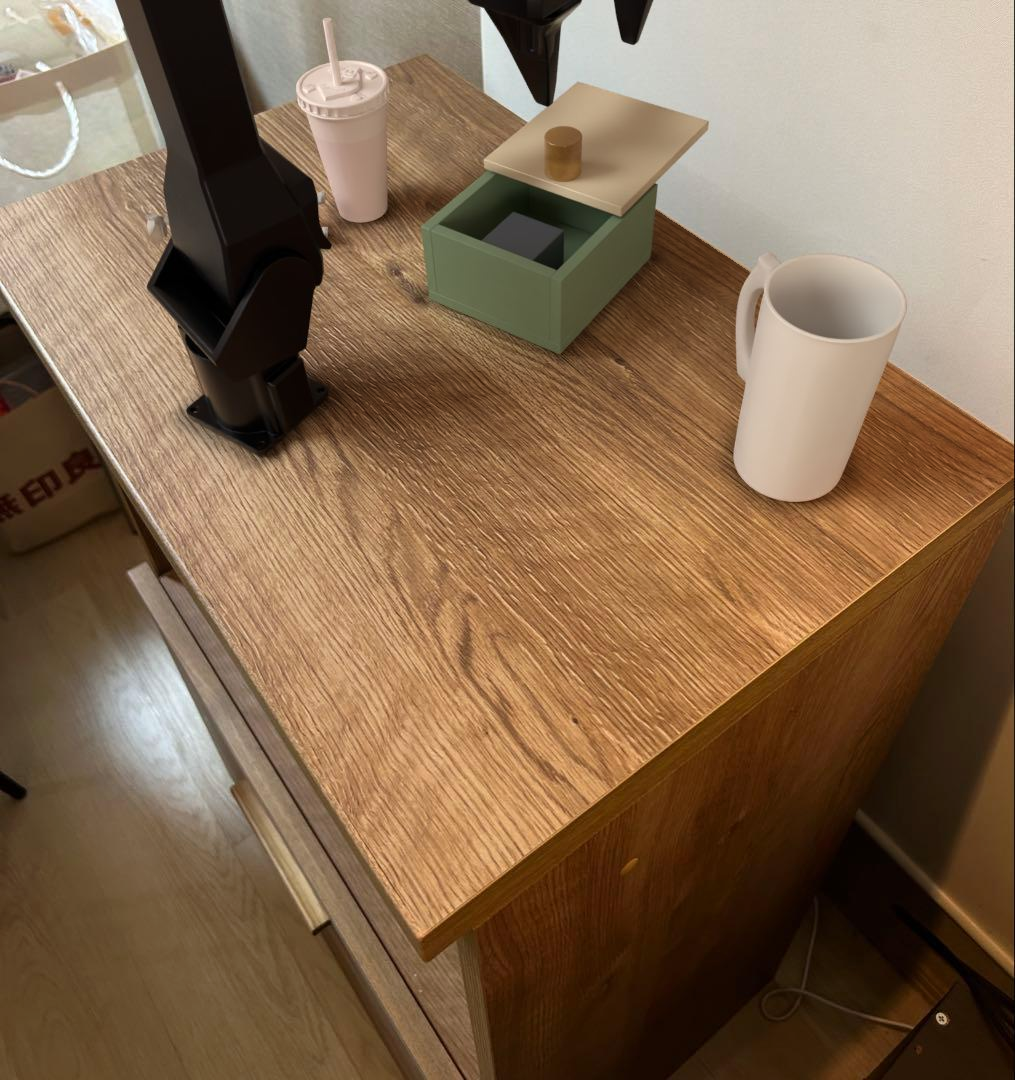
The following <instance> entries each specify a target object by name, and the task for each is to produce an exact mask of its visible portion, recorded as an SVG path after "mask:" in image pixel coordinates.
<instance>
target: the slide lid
mask: <svg viewBox="0 0 1015 1080" xmlns="http://www.w3.org/2000/svg"><path fill="white" fill-rule="evenodd" d="M709 124H710V121H709V120H708V119H707V120H706V119H703V118H699V117H698V116H694V115H690V114H687V113H684V112H681V111H677V110H673V109H672V108H671V109H670V108H667V107H665V106H664V107H663V106H661V105H657V104H655V103H650V102H648V101H644V100H642V99H639V98H634V97H631V96H629V95H628V96H627V95H625V94H621V93H618V92H614V91H611V90H607V89H604V88H601V87H598V86H595V85H591V84H588V83H584V82H582V81H576V82H575V83H574V84H573V85H571V86H570V87H569V88H568V89H566V90H565V91H564V92H563V93H561V94H560V96H558V97H557V98H555V99H554V100H553V104H552V105H550V106H549V107H546V106H545V108H543V110H541V111H540V112H539V113H538V114H536V116H534V117H533V118H532V119H531V120H529V121H528V122H527V123H525V124H524V125H523V126H522V127H520V128H519V129H518V130H517V131H516V132H515V133H513V134H512V135H511V136H510V137H508V139H506V140H505V141H504V142H503V143H501V144H500V145H499V146H498V147H497V148H496V149H494V150H493V151H492V152H491V153H490V154H488V155H487V156H486V157H485V158H484V159H483V168H484V169H485V170H486V171H487V170H490V171H493V172H496V173H498V174H501V175H504V176H507V177H510V178H512V179H515V180H518V181H521V182H524V183H527V184H529V185H532V186H535V187H538V188H541V189H544V190H546V191H549V192H552V193H555V194H558V195H560V196H563V197H566V198H569V199H572V200H575V201H577V202H580V203H583V204H586V205H589V206H592V207H594V208H597V209H600V210H603V211H606V212H608V213H611V214H614V215H617V216H620V217H621V216H622V215H623V214H624V213H625V212H626V211H627V210H628V209H629V208H630V207H631V206H632V205H633V204H634V203H635V202H636V201H637V200H638V199H639V198H640V197H641V196H642V195H643V194H644V193H645V192H646V191H647V190H648V189H649V188H650V187H651V186H652V185H653V184H654V183H657V182H658V181H659V180H660V179H661V178H662V177H663V176H664V175H665V174H666V172H668V171H669V169H670V168H672V167H673V165H675V164H676V163H677V162H678V161H679V160H680V159H681V158H682V157H683V156H684V154H686V153H687V152H688V151H689V150H690V149H691V148H692V147H693V146H694V145H695V144H696V143H697V142H698V141H699V140H700V139H701V138H702V137H703V135H705V133H707V132H708V130H709V126H710V125H709Z"/></svg>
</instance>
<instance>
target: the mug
mask: <svg viewBox="0 0 1015 1080" xmlns="http://www.w3.org/2000/svg"><path fill="white" fill-rule="evenodd" d="M762 293H763V294H762ZM761 295H762V298H761V302H760V307H759V311H758V317H757V322H756V325H755V315H756V308H757V303H758V300H759V298H760V296H761ZM907 310H908V301H907V297H906V293H905V292H904V290H903V289H902V287H901V285H900V284H899V283H898V282H897V280H896V279H895V278H894V277H893V276H892V275H890V274H889V273H888V272H886V271H885V270H883V269H882V268H880V267H878V266H877V265H875V264H873V263H870V262H868V261H866V260H863V259H860V258H857V257H854V256H850V255H845V254H838V253H826V252H825V253H824V252H823V253H821V252H820V253H810V254H804V255H799V256H795V257H793V258H790V259H787V260H785V261H783V262H782V261H780V259H779V258H777V256H776V255H775V254H774V253H773V252H766V253H762V254H761V255H760V256H759V257H758V259H757V263H756V265H755V266H754V268H753V269H752V270H751V272H750V273H749V274H748V276H747V277H746V279H745V281H744V283H743V284H742V287H741V289H740V292H739V296H738V300H737V306H736V313H735V314H736V315H735V355H736V357H735V358H736V360H735V361H736V374H737V375H738V377H740V379H741V380H742V381H743V382H745V386H744V392H743V396H742V402H741V407H740V411H739V417H738V422H737V428H736V434H735V442H734V447H733V454H732V456H733V463H734V467H735V470H736V472H737V473H738V475H739V476H740V478H741V479H742V481H743V482H745V484H746V485H748V486H749V487H750V488H751V489H753V490H754V491H755V492H757V493H759V494H761V495H764V496H765V497H767V498H770V499H773V500H776V501H781V502H791V503H801V502H809V501H813V500H816V499H819V498H821V497H824V496H825V495H827V494H828V493H830V492H831V491H832V490H833V489H835V487H836V486H837V485H838V483H839V481H840V480H841V478H842V476H843V473H844V471H845V469H846V466H847V464H848V461H849V459H850V457H851V455H852V452H853V450H854V447H855V445H856V442H857V439H858V437H859V435H860V432H861V429H862V426H863V424H864V421H865V419H866V416H867V414H868V411H869V409H870V407H871V404H872V402H873V399H874V396H875V394H876V391H877V390H878V389H877V388H878V386H879V384H880V381H881V378H882V376H883V373H884V371H885V369H886V366H887V363H888V361H889V359H890V356H891V353H892V351H893V348H894V346H895V344H896V341H897V338H898V335H899V333H900V330H901V327H902V323H903V322H904V319H905V318H906V315H907ZM755 326H756V327H755Z"/></svg>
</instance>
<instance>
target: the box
mask: <svg viewBox="0 0 1015 1080" xmlns="http://www.w3.org/2000/svg"><path fill="white" fill-rule="evenodd" d="M658 186H659V185H658V183H657V182H655V183H654V184H653V185H652V186H651V187H650V188H649V189H648V190H647V191H646V192H645V193H644V194H643V195H642V196H641V197H640V198H639V199H638V200H637V201H636V202H635V203H634V204H633V205H632V206H631V207H630V208H629V209H628V210H627V211H626V212H625V213H624V214H623V215H622V216H621V217H620V216H617V215H614V214H611V213H608V212H606V211H603V210H600V209H597V208H594V207H592V206H589V205H586V204H583V203H580V202H577V201H575V200H572V199H569V198H566V197H563V196H560V195H558V194H555V193H552V192H549V191H546V190H544V189H541V188H538V187H535V186H532V185H529V184H527V183H524V182H521V181H518V180H515V179H512V178H510V177H507V176H504V175H501V174H498V173H496V172H493V171H490V170H487V169H486V171H484V173H483V174H481V175H480V176H479V177H478V178H476V180H474V181H473V182H472V183H471V184H470V185H468V186H467V187H466V188H465V189H464V190H463V191H461V192H459V194H457V195H456V196H455V197H454V198H453V199H451V201H449V202H448V203H447V204H445V205H444V206H443V207H442V208H441V209H440V210H439V211H437V212H436V213H435V214H434V215H433V216H432V217H430V218H429V219H428V220H427V221H426V222H424V223H423V224H422V225H421V226H420V230H421V240H422V248H423V256H424V257H423V258H424V264H425V266H424V267H425V274H426V282H427V289H428V292H427V293H428V299H429V300H430V301H432V302H435V303H437V304H439V305H442V306H444V307H447V308H448V309H449V308H450V309H451V310H454V311H456V312H457V313H460V314H463V315H465V316H468V317H470V318H473V319H475V320H477V321H480V322H482V323H485V324H487V325H489V326H490V327H491V326H492V327H494V328H497V329H498V330H501V331H503V332H506V333H508V334H511V335H512V336H515V337H518V338H520V339H522V340H525V341H527V342H529V343H532V344H534V345H537V346H538V347H541V348H544V349H546V350H548V351H551V352H553V353H555V354H558V355H561V354H562V353H563V352H564V351H566V349H567V348H568V347H569V346H570V345H571V344H572V342H573V341H574V340H575V339H576V338H577V337H578V336H579V335H580V334H581V333H582V332H583V331H584V330H585V329H586V328H587V326H588V325H589V324H591V322H592V321H593V320H594V319H595V318H596V317H597V316H598V314H599V313H600V312H601V311H602V310H604V308H605V307H606V306H607V305H608V304H609V303H610V302H611V301H612V299H613V298H615V296H616V295H617V294H618V293H619V292H620V291H621V290H622V289H623V288H624V287H625V286H626V284H627V283H628V282H629V281H630V280H631V279H632V278H633V277H634V276H635V275H636V274H637V273H638V272H639V271H640V270H641V268H642V267H643V266H644V265H646V263H647V262H648V261H649V260H650V259H651V256H652V246H653V237H654V227H655V217H656V207H657V196H658ZM513 212H516V213H518V214H521V215H524V216H527V217H529V218H532V219H535V220H537V221H540V222H543V223H546V224H548V225H551V226H554V227H557V228H559V229H562V230H564V264H563V265H562V266H561V267H560V268H559V269H558V270H555V269H552V268H550V267H547V266H545V265H542V264H540V263H537V262H534V261H532V260H529V259H527V258H524V257H521V256H519V255H516V254H514V253H511V252H509V251H506V250H503V249H501V248H498V247H496V246H493V245H491V244H488V243H485V242H483V241H482V240H483V239H484V238H485V237H486V236H487V235H488V234H489V233H490V232H492V231H493V230H494V229H495V228H496V227H497V226H498V225H499V224H500V223H502V222H503V221H504V220H505V219H506V218H507V217H508V216H509V215H510V214H512V213H513Z"/></svg>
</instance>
